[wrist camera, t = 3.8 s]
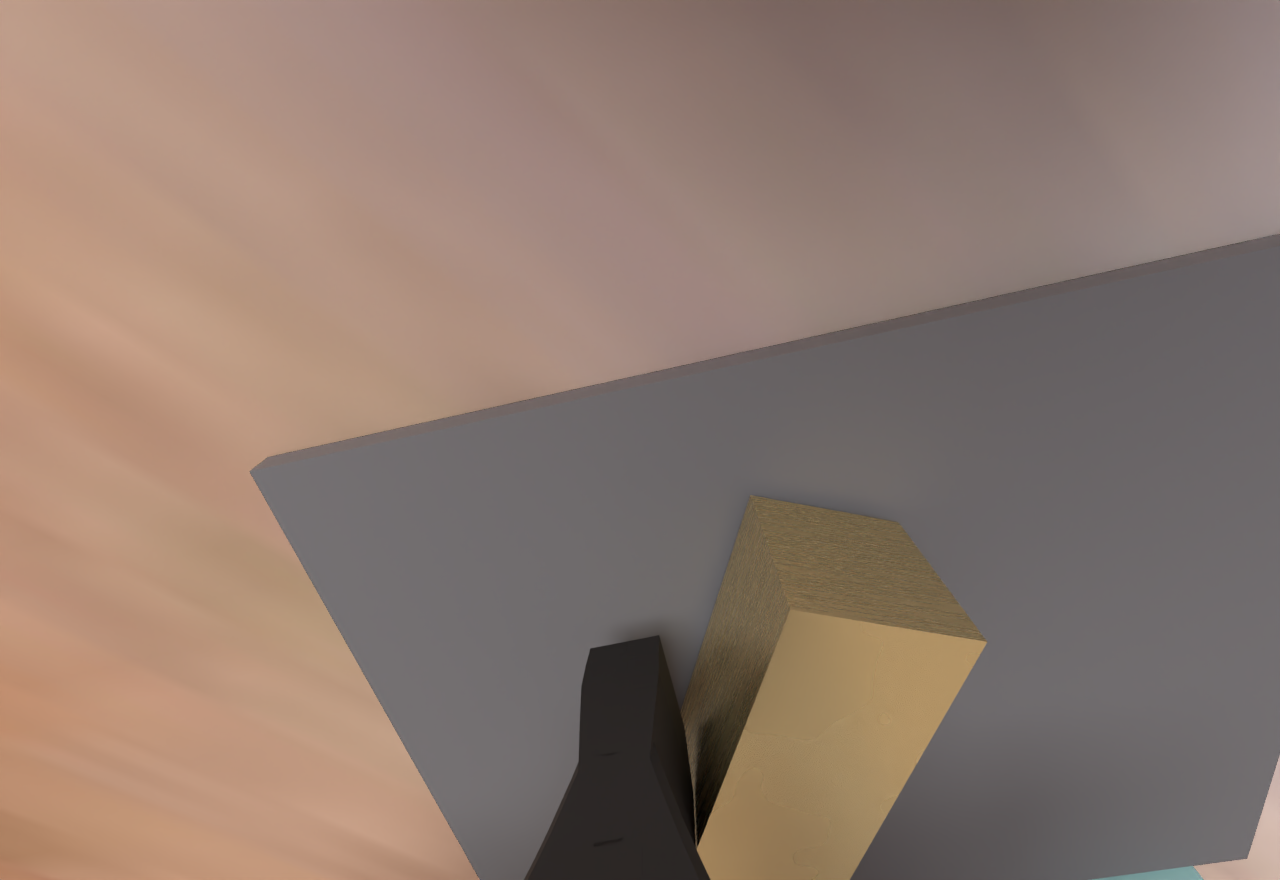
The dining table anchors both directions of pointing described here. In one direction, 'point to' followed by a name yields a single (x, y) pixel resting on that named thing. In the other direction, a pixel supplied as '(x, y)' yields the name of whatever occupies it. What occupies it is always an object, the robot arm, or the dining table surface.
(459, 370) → the dining table surface
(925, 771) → the plate
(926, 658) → the swing latch
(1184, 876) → the mug holder
